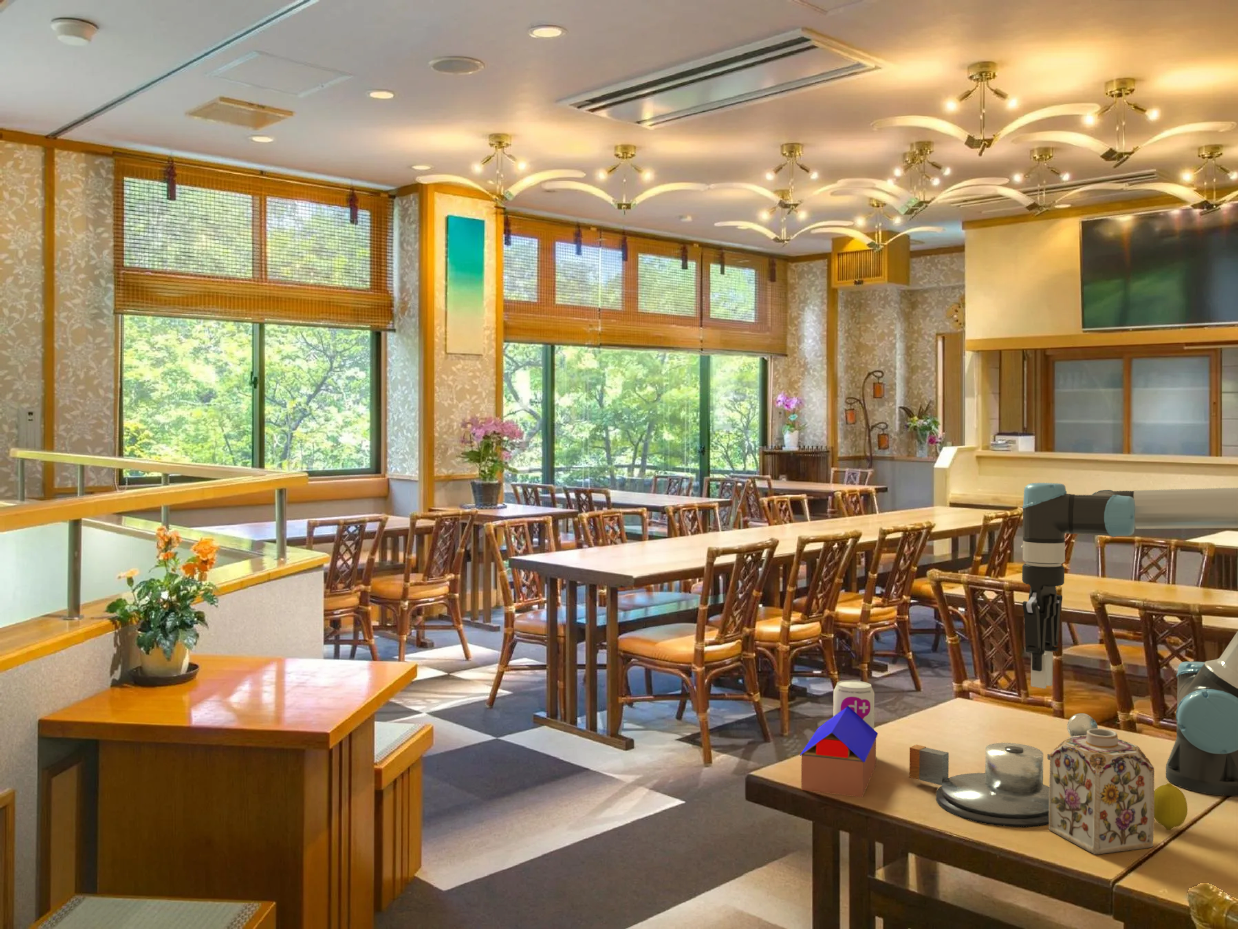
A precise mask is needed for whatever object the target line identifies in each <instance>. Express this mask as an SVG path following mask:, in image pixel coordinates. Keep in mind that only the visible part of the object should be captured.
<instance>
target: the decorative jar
mask: <svg viewBox="0 0 1238 929" xmlns="http://www.w3.org/2000/svg"><path fill="white" fill-rule="evenodd" d="M1048 780H1049V782H1048V784H1049V785H1048V787H1049V825H1048V830H1049V831H1050V832H1052V833H1055V834H1056V835H1058V836H1059V837H1061V838H1063V839H1065V840H1067V841H1068V842H1070V843H1073V844H1074V845H1076V846H1078V847H1080V848H1081V849H1083V850H1086V851H1087V852H1089V853H1091V854H1093V855H1095V856H1097V855H1105V854H1111V853H1118V852H1126V851H1133V850H1134V851H1136V850H1140V849H1141V850H1143V849H1149V848H1153V847H1154V838H1155V837H1154V835H1155V834H1154V831H1155V818H1154V791H1155V767H1154V765H1153V764H1152V763H1151V761H1150V760H1149V758H1148V757H1147V756H1146V754H1145V753H1144V752H1143V751H1142V749H1141V748H1140V747H1139V746H1138V745H1136V744H1134V743H1131V742H1128V741H1126V740H1123V739H1119V736H1118V733H1117V731H1114V730H1111V729H1106V728H1098V729H1090V730H1088V731H1087V735H1082V736H1072V737H1071V736H1069V737H1067V738H1065V739H1064V740H1063V741H1062V742H1061V743H1059V744H1058V746H1056V747H1055V748H1054V749H1053V750H1052V751H1051V753H1050V760H1049V779H1048Z"/></svg>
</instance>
